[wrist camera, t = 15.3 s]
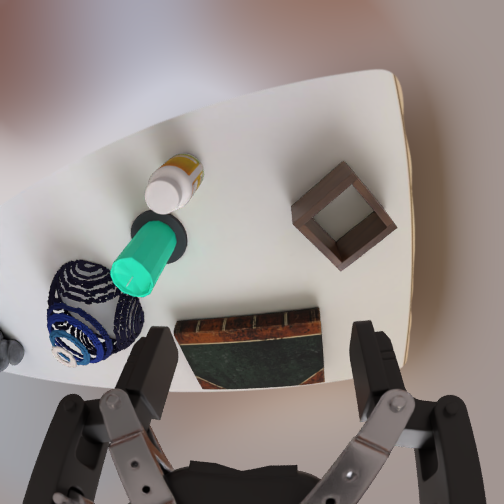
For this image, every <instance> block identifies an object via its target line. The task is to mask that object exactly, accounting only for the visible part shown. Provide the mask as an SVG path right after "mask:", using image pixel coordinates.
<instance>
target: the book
mask: <svg viewBox="0 0 504 504" xmlns="http://www.w3.org/2000/svg"><path fill="white" fill-rule="evenodd" d="M174 336H175V338H176V340H177V342H178V343H179V345H180V347H181V349H182V351H183V353H184V355H185V357H186V359H187V361H188V363H189V365H190V367H191V369H192V371H193V372H194V374H195V376H196V378H197V380H198V382H199V384H200V385H201V387H202V389H248V388H268V387H283V386H295V385H307V384H315V383H321V382H325V378H324V359H323V345H322V332H321V321H320V311H319V308H315V309H308V310H299V311H291V312H281V313H272V314H262V315H251V316H240V317H229V318H217V319H204V320H189V321H177V323H176V325H175V328H174Z"/></svg>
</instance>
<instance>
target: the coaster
mask: <svg viewBox="0 0 504 504" xmlns="http://www.w3.org/2000/svg"><path fill="white" fill-rule="evenodd" d="M149 221H160V222H163V223H165V224H167V225H169V227H170V228H171V229H172V230H173V232H174V233H175V236H176V241H177V243H176V246H175V248H174V251H173V252H172V254H171V256H170V258H169V260H168V262H167V263H166V264H169V263H173V262H175V261H177V260H178V259H179V258H181V256H182V255H183V254H184V252H185V250H186V247H187V235H186V232H185V229H184V227H183V226H182V224H181V223H180V222H179V221H178V220H177V219H176V218H175V217H174V216H173V215H171V214H158V213H156V212H154V211H152V210H150V211H146V212H144V213H142V214H141V215H139V216H138V217H137V218H136V220H135V221H134V223H133V225H132V228H131V238H132V239H133V237H134V236H135V235H136V234H137V232H138V231H139V230H140V229H141V227H142V226H144V225H145V224H146V223H148V222H149Z"/></svg>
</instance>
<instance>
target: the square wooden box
mask: <svg viewBox="0 0 504 504" xmlns="http://www.w3.org/2000/svg"><path fill="white" fill-rule="evenodd" d="M351 184H352V185H353V186H354V187H355V188H356V190H357V191H358V192H359V193H360V194H361V195H362V197H363V198H364V199H365V200H366V201H367V203H368V204H369V205H370V206H371V207H372V209H373V210H374V212H373V213H371V214H370V215H369V216H368V217H367V218H365V219H364V220H363V221H362V222H360V223H359V224H358V225H357V226H356V227H354V228H353V229H352V230H351V231H349V232H348V233H347V234H346V235H344V236H343V237H342V238H341V239H339V240H338V241H337V242H335V241H334V240H333V239H332V238H331V237H330V236H329V235H328V233H327V232H326V231H325V230H324V229H323V228H322V227H321V226H320V225H319V224H318V223H317V222H316V221H315V220H314V219H313V218H312V217H313V216H315V215H316V214H317V213H318V212H319V211H321V210H322V209H323V208H324V207H325V206H326V205H328V204H329V203H330V202H331V201H332V200H334V199H335V198H336V197H337V196H338V195H339V194H341V193H342V192H343V191H344V190H345V189H347V188H348V187H349V186H350V185H351ZM291 211H292V222H293V225H294V226H295V227H296V228H297V229H298V230H299V231H300V232H301V233H302V234H303V235H304V236H305V237H306V238H307V239H308V240H309V241H311V242H312V243H313V244H314V245H315V246H316V247H317V248H318V249H319V250H320V251H321V252H322V253H323V254H324V255H325V256H326V257H327V258H328V259H329V260H330V261H331V262H332V263H333V264H334V265H335V266H336V267H337V268H338V269H339V270H340V271H342V270H344V269H345V268H346V267H348V266H349V265H350V264H352V263H353V262H354V261H355V260H357V259H358V258H359V257H361V256H362V255H363V254H365V253H366V252H367V251H368V250H370V249H371V248H372V247H374V246H375V245H376V244H377V243H379V242H380V241H381V240H382V239H384V238H385V237H386V236H387V235H389V234H390V233H391V232H392V231H394V230H395V229H396V228H397V226H396V225H395V223H394V222H393V221H392V219H391V218H390V216H389V215H388V214H387V212H386V211H385V210H384V208H383V207H382V206H381V205H380V203H379V202H378V201H377V200H376V198H375V197H374V196H373V195H372V193H371V192H370V191H369V190H368V189H367V187H366V186H365V185H364V184H363V183H362V181H361V180H360V179H359V178H358V177H357V175H356V174H355V173H354V172H353V171H352V170H351V168H350V167H349V166H348V165H347V164H346V163H345V162H344V161H343V162H342V163H340V164H339V165H338V166H337V167H336V168H335V169H334V170H332V171H331V172H330V173H329V174H328V175H327V176H326V177H324V178H323V179H322V180H321V181H320V182H319V183H318V184H316V185H315V186H314V187H313V188H312V189H311V190H309V191H308V192H307V193H306V194H305V195H304V196H303V197H301V198H300V199H299V200H298V201H297V202H296V203H295V204H293V205H292V206H291Z"/></svg>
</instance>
